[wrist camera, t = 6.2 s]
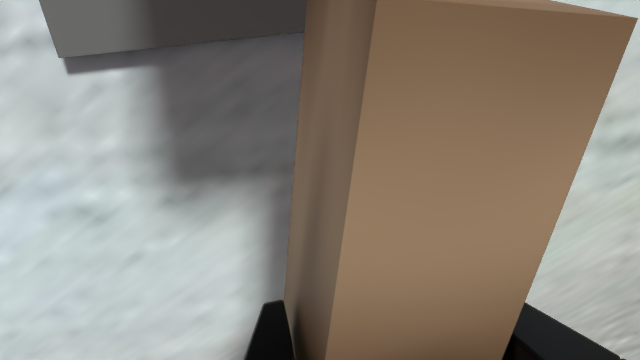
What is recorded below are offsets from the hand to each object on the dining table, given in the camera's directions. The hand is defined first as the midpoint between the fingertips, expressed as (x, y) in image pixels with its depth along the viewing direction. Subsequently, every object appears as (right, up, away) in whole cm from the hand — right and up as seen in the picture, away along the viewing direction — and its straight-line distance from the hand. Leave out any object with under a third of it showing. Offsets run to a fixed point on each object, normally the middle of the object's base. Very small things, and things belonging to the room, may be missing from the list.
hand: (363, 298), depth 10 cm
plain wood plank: (0, +1, +1) cm, 1 cm away
